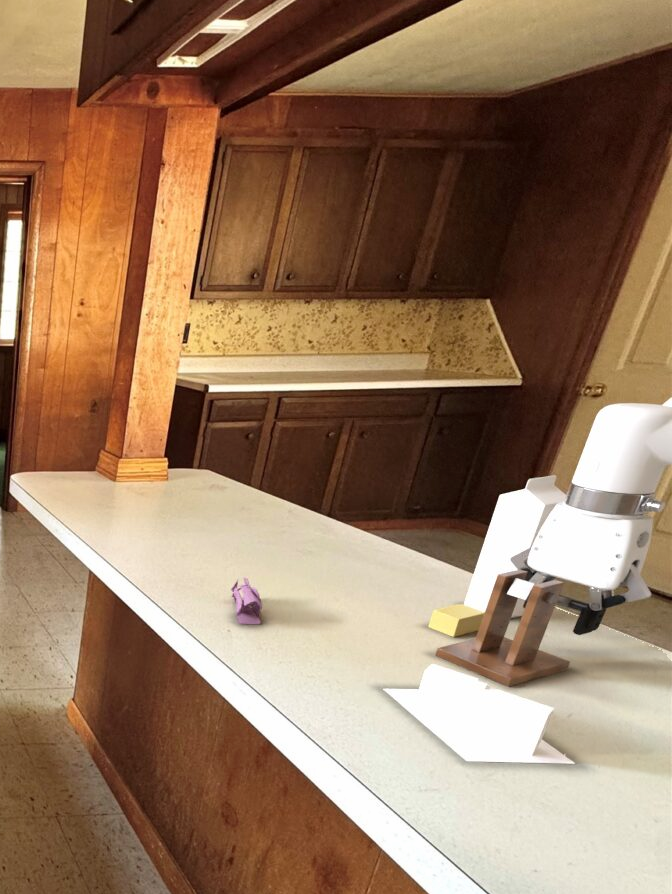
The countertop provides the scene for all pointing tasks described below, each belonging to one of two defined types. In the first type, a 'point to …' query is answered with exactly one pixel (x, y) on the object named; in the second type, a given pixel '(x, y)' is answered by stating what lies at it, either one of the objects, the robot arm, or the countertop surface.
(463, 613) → the butter
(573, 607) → the lever
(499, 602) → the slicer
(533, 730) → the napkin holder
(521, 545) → the milk
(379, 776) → the countertop surface
